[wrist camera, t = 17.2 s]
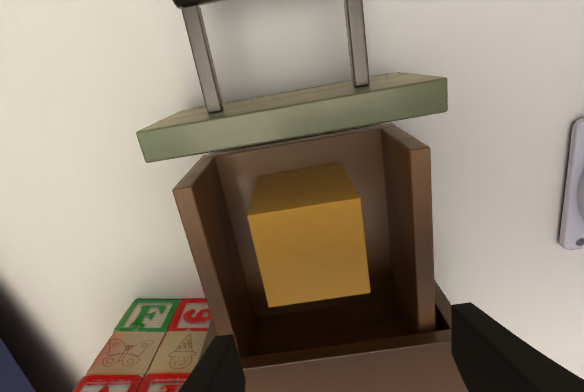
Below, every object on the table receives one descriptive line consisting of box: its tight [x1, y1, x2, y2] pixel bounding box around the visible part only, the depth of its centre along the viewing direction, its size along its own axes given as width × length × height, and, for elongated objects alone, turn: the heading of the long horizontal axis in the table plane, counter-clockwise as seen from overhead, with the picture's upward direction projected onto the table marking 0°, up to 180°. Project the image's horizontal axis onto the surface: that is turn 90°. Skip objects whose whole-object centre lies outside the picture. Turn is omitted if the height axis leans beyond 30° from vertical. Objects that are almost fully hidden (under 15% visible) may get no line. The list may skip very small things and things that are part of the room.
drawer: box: [136, 0, 448, 358], centre depth 17 cm, size 19×11×6 cm, turn 10°
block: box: [247, 162, 371, 307], centre depth 17 cm, size 4×4×5 cm
